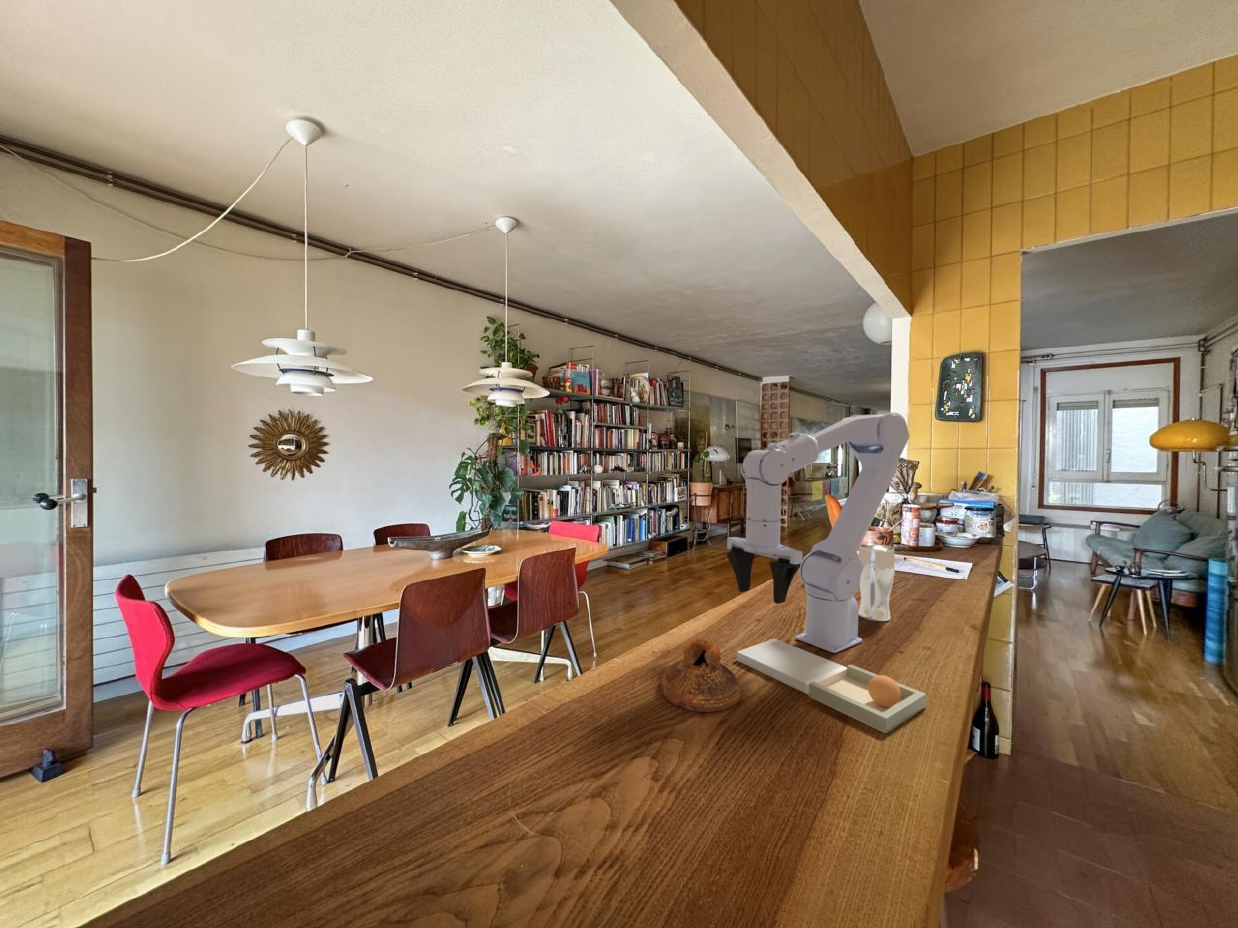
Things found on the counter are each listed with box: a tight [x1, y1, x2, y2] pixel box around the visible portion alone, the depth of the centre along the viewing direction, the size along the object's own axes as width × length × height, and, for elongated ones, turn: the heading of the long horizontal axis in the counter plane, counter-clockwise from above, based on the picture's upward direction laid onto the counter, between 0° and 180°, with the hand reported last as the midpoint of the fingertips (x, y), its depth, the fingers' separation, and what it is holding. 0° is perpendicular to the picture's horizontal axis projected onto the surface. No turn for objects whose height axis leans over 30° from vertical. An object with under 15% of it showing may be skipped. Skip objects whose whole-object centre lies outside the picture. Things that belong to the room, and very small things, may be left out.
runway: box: [736, 638, 847, 696], centre depth 80 cm, size 10×14×2 cm
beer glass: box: [858, 543, 896, 622], centre depth 105 cm, size 7×7×15 cm
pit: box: [808, 663, 927, 735], centre depth 70 cm, size 11×11×2 cm
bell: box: [660, 639, 742, 713], centre depth 73 cm, size 12×12×7 cm
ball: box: [868, 674, 901, 707], centre depth 69 cm, size 4×4×4 cm
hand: (761, 596), depth 86 cm, fingers open, 7 cm apart
